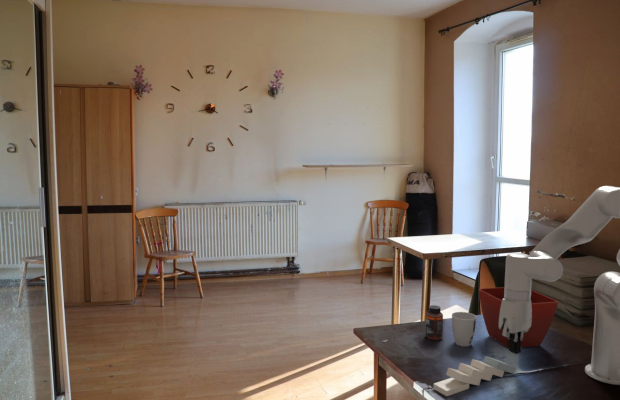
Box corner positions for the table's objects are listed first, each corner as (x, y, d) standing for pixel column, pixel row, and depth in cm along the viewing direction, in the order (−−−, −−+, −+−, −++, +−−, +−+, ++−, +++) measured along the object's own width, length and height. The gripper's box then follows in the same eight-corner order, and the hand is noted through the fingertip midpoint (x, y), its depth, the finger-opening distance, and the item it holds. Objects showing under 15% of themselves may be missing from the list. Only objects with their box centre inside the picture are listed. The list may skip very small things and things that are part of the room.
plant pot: (556, 349, 173) (559, 301, 171) (507, 354, 168) (510, 304, 166) (520, 329, 191) (523, 285, 189) (475, 333, 187) (477, 288, 185)
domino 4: (504, 370, 152) (485, 365, 147) (502, 377, 151) (483, 372, 147) (490, 364, 156) (472, 358, 151) (488, 370, 156) (470, 365, 151)
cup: (476, 349, 172) (477, 320, 171) (451, 347, 174) (452, 318, 173) (473, 340, 180) (475, 312, 179) (449, 338, 182) (451, 311, 180)
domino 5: (516, 367, 154) (498, 362, 149) (514, 374, 154) (496, 368, 149) (503, 361, 158) (485, 355, 154) (501, 367, 158) (482, 362, 154)
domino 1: (469, 383, 144) (446, 390, 139) (468, 389, 144) (446, 397, 140) (455, 376, 148) (433, 383, 144) (455, 382, 149) (433, 390, 144)
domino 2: (481, 378, 146) (462, 374, 141) (479, 385, 146) (460, 381, 141) (467, 372, 150) (448, 367, 145) (465, 378, 150) (446, 374, 145)
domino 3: (492, 374, 149) (473, 369, 144) (490, 381, 149) (471, 376, 144) (479, 368, 153) (460, 362, 149) (476, 374, 153) (457, 369, 148)
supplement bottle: (444, 336, 183) (445, 306, 182) (439, 342, 178) (440, 310, 177) (428, 333, 186) (429, 303, 185) (422, 338, 181) (424, 307, 180)
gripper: (522, 287, 161) (519, 343, 163) (490, 294, 154) (488, 353, 156) (544, 293, 155) (540, 351, 157) (511, 301, 147) (508, 362, 149)
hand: (514, 352), depth 156 cm, fingers closed
